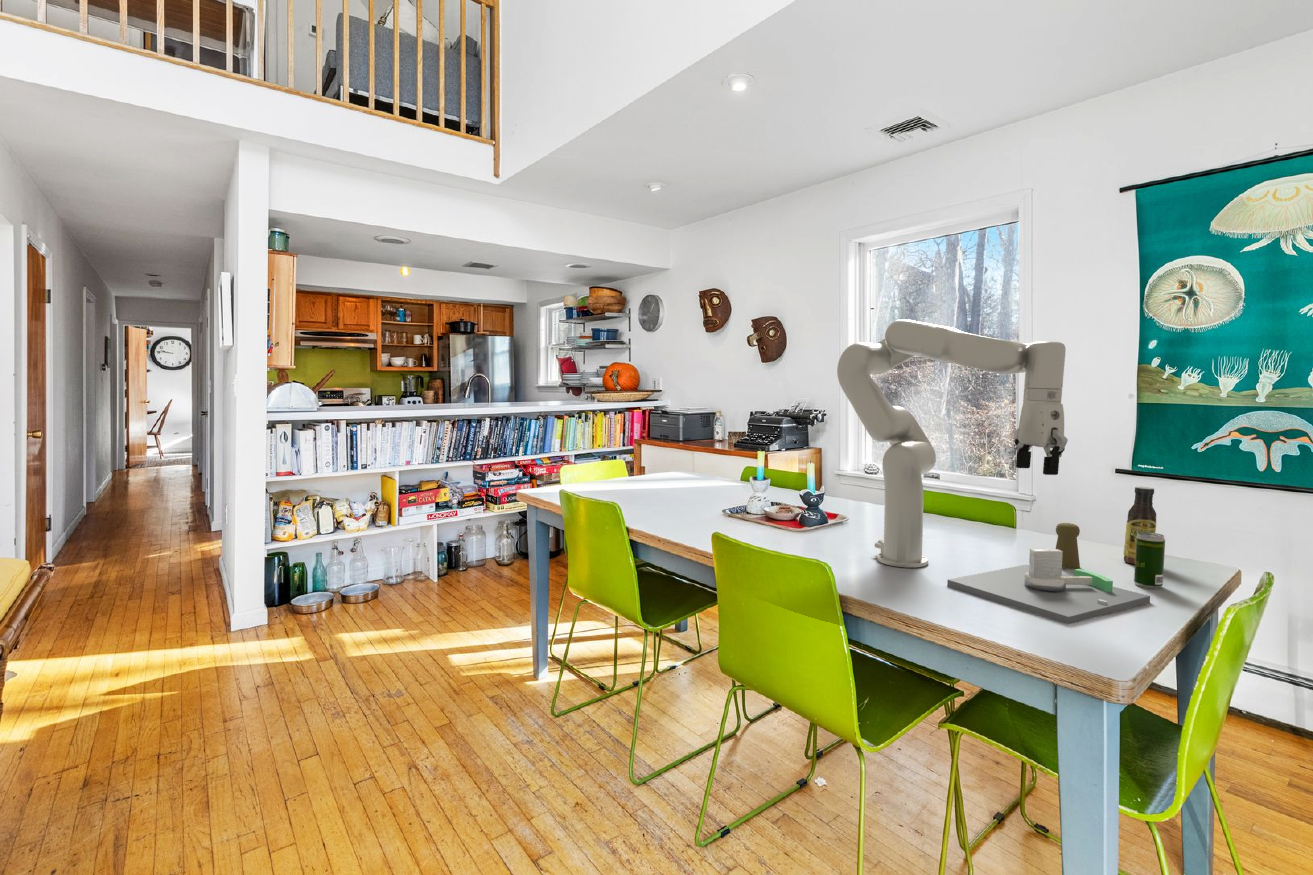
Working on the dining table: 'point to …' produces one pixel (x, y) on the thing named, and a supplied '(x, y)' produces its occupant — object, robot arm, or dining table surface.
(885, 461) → the robot arm
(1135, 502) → the sauce bottle
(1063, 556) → the cork
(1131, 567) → the dining table surface
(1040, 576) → the knob
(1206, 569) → the dining table surface
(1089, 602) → the dial board
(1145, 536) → the beer can
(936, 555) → the dining table surface
